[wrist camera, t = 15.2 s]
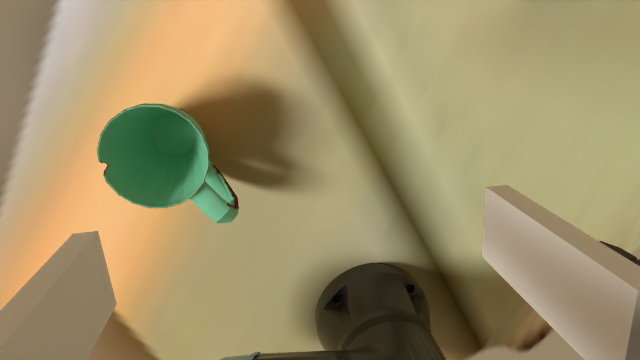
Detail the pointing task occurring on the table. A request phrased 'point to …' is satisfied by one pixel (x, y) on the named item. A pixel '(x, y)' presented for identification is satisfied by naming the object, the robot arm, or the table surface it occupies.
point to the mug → (163, 161)
